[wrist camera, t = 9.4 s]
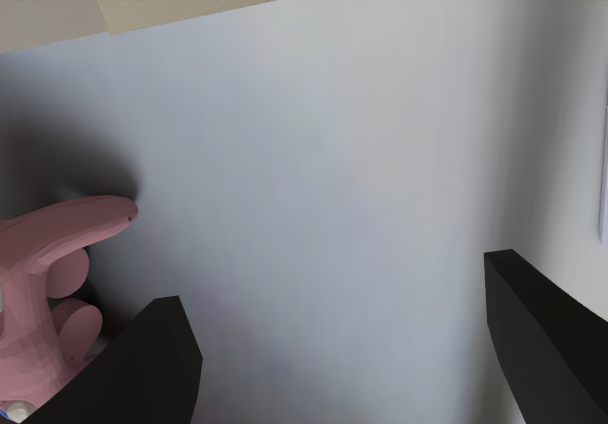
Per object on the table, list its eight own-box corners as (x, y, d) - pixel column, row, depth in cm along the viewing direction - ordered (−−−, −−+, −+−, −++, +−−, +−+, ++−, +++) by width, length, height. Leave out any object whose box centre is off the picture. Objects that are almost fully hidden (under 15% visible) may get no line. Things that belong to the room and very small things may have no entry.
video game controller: (67, 168, 24) (-104, 243, 18) (146, 191, 22) (-19, 283, 16) (107, 340, 28) (-19, 440, 23) (174, 372, 26) (54, 489, 21)
